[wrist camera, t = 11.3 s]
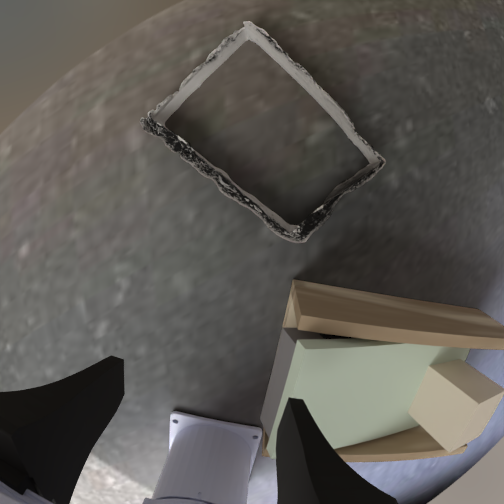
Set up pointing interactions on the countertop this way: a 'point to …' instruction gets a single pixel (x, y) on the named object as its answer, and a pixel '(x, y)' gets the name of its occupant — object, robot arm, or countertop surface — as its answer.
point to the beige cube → (455, 403)
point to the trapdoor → (349, 384)
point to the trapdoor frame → (392, 330)
